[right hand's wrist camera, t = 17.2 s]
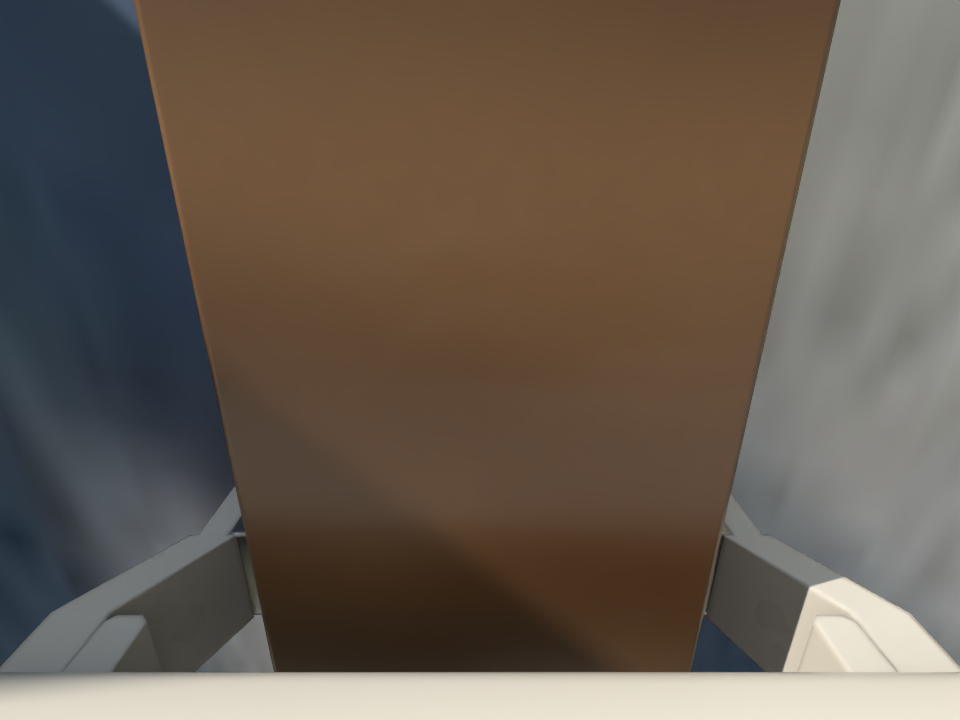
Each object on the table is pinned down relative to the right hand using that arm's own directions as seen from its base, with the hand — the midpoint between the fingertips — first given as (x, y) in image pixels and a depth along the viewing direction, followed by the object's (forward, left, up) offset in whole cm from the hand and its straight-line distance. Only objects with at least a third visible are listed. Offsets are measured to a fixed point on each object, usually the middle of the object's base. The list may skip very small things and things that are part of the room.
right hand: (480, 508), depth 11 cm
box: (+6, -5, -5) cm, 9 cm away
